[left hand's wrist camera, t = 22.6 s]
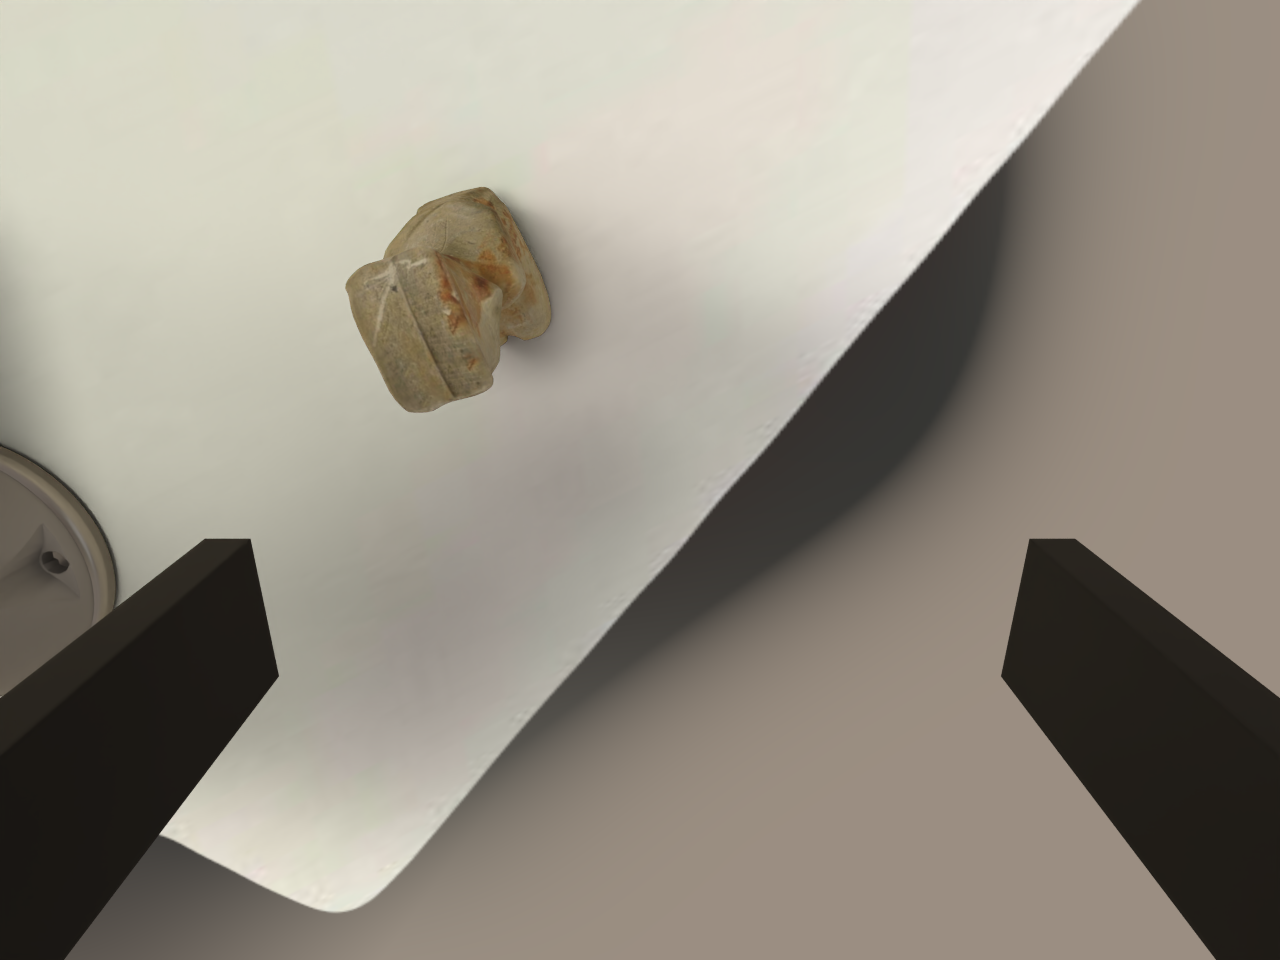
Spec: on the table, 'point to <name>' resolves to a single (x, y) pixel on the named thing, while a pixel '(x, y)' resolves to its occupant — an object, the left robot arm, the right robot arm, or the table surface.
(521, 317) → the sculpture
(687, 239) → the table surface
